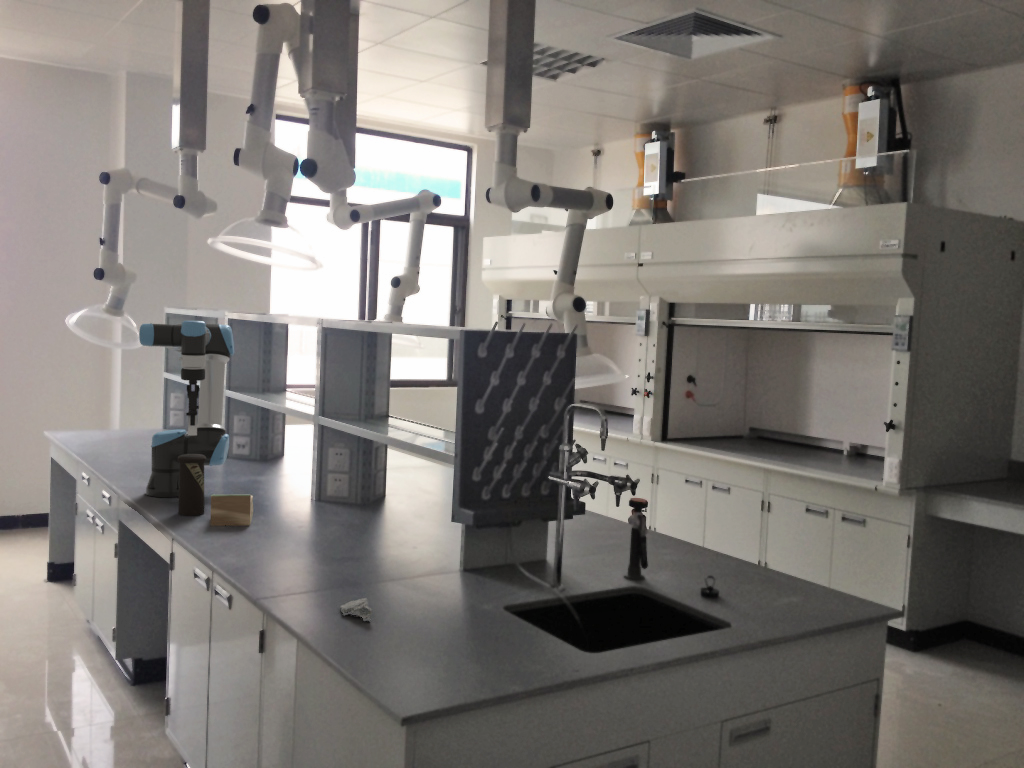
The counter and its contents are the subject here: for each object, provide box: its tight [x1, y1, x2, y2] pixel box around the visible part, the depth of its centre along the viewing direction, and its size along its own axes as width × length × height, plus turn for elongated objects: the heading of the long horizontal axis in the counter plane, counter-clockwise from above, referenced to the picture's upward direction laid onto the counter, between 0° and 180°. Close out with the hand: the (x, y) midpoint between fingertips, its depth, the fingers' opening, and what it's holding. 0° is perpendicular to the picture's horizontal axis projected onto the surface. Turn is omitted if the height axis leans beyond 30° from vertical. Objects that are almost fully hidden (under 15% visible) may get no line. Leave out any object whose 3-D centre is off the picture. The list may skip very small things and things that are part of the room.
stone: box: [339, 597, 373, 620], centre depth 206 cm, size 6×12×4 cm, turn 17°
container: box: [177, 454, 206, 517], centre depth 299 cm, size 9×9×20 cm
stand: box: [210, 493, 254, 527], centre depth 293 cm, size 17×12×10 cm
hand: (192, 431), depth 295 cm, fingers open, 13 cm apart
